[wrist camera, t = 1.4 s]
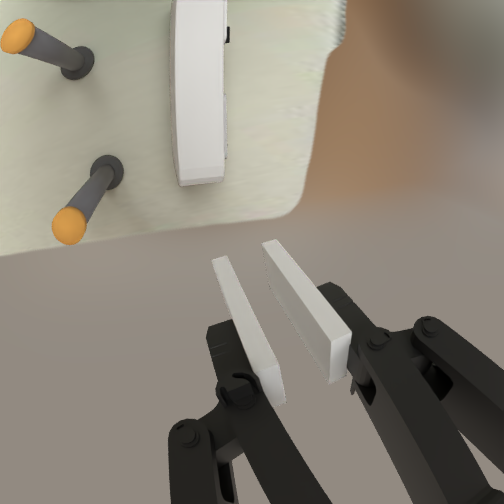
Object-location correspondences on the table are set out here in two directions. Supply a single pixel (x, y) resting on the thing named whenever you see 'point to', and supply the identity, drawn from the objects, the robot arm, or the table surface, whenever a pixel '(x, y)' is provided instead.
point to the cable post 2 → (86, 200)
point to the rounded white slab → (198, 90)
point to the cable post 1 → (46, 49)
